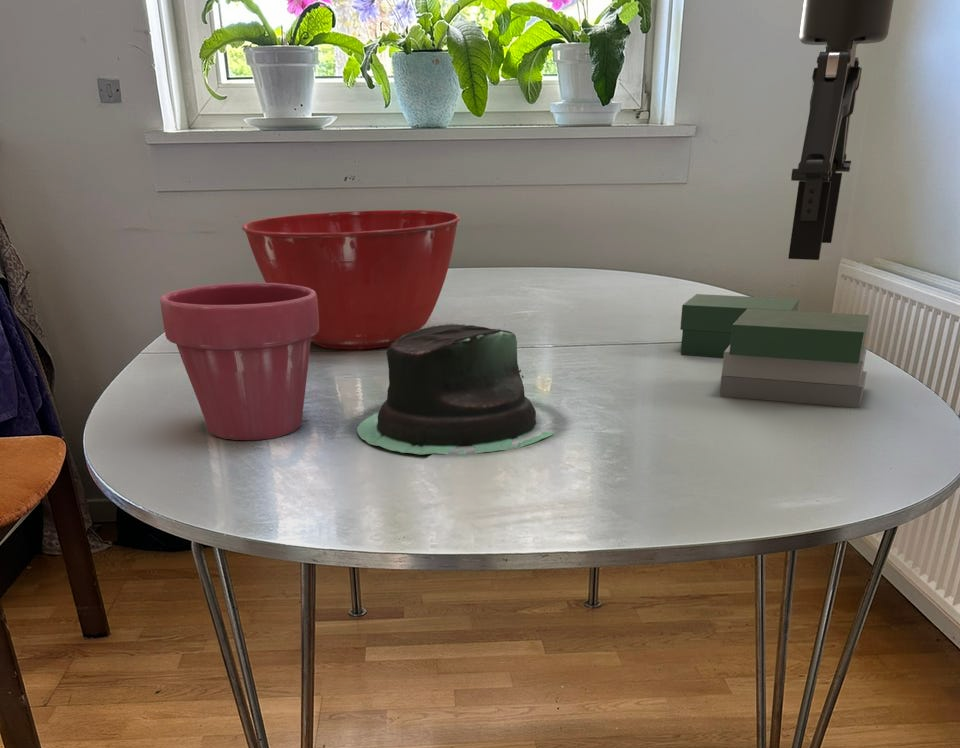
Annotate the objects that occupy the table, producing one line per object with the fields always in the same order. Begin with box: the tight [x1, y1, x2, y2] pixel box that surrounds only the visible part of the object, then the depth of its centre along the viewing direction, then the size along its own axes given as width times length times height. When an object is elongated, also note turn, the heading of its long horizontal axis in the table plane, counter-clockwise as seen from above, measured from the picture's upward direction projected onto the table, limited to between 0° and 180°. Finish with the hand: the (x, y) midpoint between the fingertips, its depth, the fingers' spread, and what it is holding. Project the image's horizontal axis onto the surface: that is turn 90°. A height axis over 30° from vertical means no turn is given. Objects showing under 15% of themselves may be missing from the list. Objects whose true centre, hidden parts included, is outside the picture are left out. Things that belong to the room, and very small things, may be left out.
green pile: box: [679, 293, 800, 358], centre depth 119 cm, size 13×8×6 cm, turn 67°
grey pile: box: [718, 346, 868, 409], centre depth 100 cm, size 14×7×5 cm, turn 67°
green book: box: [729, 309, 870, 364], centre depth 98 cm, size 12×10×3 cm
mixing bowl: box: [241, 209, 461, 350], centre depth 127 cm, size 28×28×16 cm
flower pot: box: [159, 282, 319, 441], centre depth 91 cm, size 14×14×13 cm
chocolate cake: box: [356, 323, 555, 455], centre depth 91 cm, size 15×19×20 cm
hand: (810, 250), depth 93 cm, fingers open, 13 cm apart
